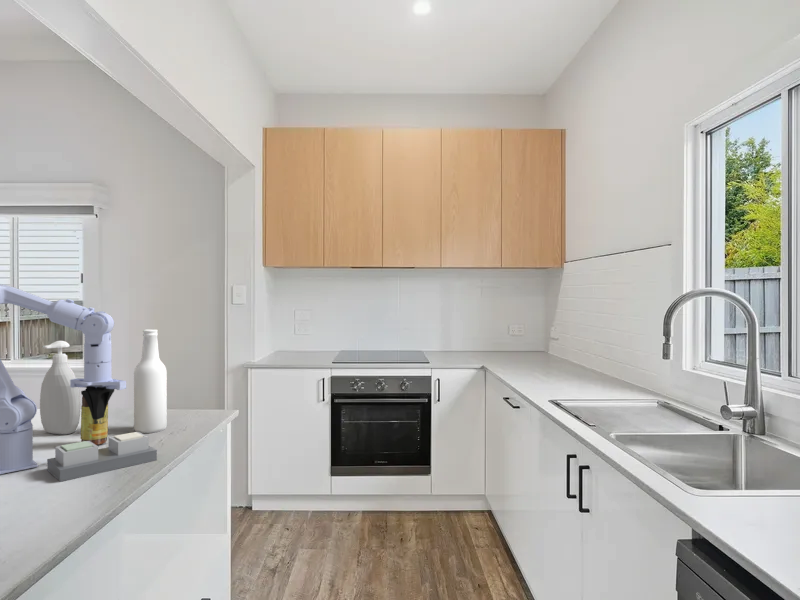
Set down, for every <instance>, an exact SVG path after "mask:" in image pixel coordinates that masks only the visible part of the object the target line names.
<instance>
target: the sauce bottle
mask: <svg viewBox="0 0 800 600" xmlns="http://www.w3.org/2000/svg"><path fill="white" fill-rule="evenodd" d="M95 386H102V385H95ZM81 396H82V398H81V405H80V439H81V441H80V442H83V441H90V442H92V443H94V444H95V445H97V446H101V445H104V444H105V443H106V442H107V440H108V429H109V428H108V427H109V422H108V421H109V403H108V404H107V407H106V410H105V414H104V417H103V418H100V419H93V418H92V415H91V412H90V409H89V406H88V404H87V402H86V400H85V398H84V397H83V395H81Z"/></svg>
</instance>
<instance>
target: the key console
mask: <svg viewBox="0 0 800 600" xmlns="http://www.w3.org/2000/svg"><path fill="white" fill-rule="evenodd" d="M137 433H139V434H141V435H143V437H142V438H136V439H131V440H126V441H121V442H120V441H118V440H116V439H115V438H114V436H115V435H113V436H109V437H108V447H103V448H99V445H95V444H94V443H92V442H90V441H87V442H88V443H90V444H92V445H93V447H89V448H84V449H78V450H73V451H68V452H65V451H64V450H63V449H61V445H57V446H55V453H54V454H55V457H50V458H47V459H46V460H47V461H46V462H47V465H46V467H47V468H46V469H47V471H48V473H50V474H51V475H52V476H53V477H54V478H56V479H57V481H59V482H60V483H61V482H66V481H70V480H73V479H74V480H75V479H80V478H83V477H87V476H92V475H96V474H100V473H101V474H102V473H105V472H109V471H115V470H119V469H124V468H127V467H132V466H137V465H141V464H145V463H149V462H156V461H157V458H158V456H157V451H158V449H156V448H154V447H152V446H150V445H149V442H150V441H149V440H150V439H149V438H150V437H149V436H148V435H146V434H145V433H140V432H137Z"/></svg>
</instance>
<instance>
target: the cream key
mask: <svg viewBox="0 0 800 600" xmlns="http://www.w3.org/2000/svg"><path fill="white" fill-rule="evenodd" d="M113 436H114V438H115V439H116V440H118V441H120V442H121V441H126V440H131V439H136V438H142V437H143V435H141V434H139V433H137V432H136V431H134V432H129V433H122V434H117V435H116V434H115V435H113Z"/></svg>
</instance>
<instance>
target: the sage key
mask: <svg viewBox="0 0 800 600" xmlns="http://www.w3.org/2000/svg"><path fill="white" fill-rule="evenodd" d="M60 446H61V449H63V450H64V451H65V452H68V451H73V450H78V449H84V448H89V447H93V445H92V444H90V443H88V442H87V441H83V442H81V441H79V442H73V443H67V444H62V445H60Z"/></svg>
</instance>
